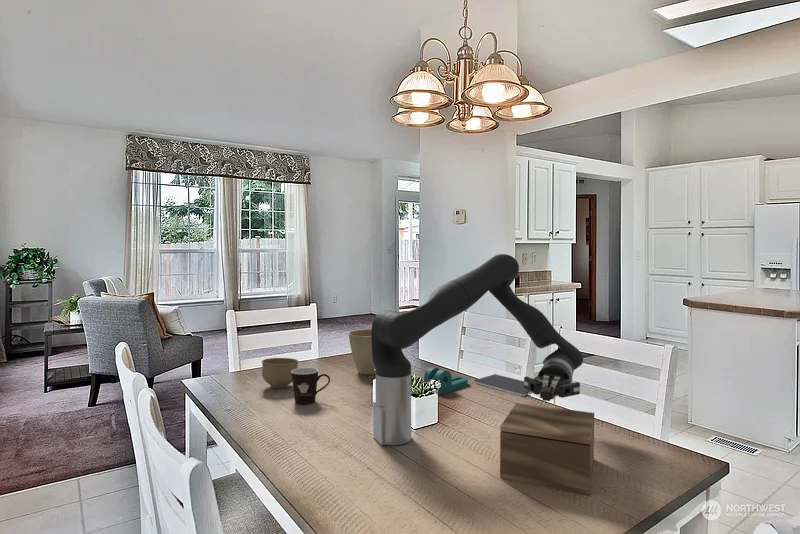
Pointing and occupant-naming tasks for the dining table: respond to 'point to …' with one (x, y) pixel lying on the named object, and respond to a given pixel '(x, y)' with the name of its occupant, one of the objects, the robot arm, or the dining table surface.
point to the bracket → (445, 379)
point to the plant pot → (362, 350)
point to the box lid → (550, 423)
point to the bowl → (278, 371)
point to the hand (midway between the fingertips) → (546, 396)
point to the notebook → (504, 384)
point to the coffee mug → (306, 384)
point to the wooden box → (547, 462)
